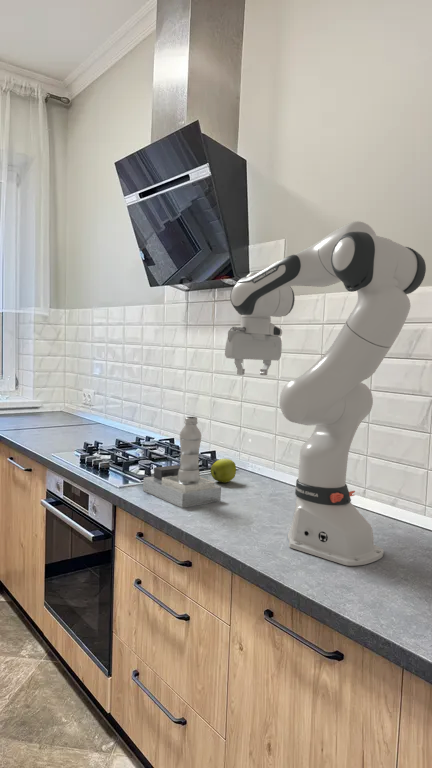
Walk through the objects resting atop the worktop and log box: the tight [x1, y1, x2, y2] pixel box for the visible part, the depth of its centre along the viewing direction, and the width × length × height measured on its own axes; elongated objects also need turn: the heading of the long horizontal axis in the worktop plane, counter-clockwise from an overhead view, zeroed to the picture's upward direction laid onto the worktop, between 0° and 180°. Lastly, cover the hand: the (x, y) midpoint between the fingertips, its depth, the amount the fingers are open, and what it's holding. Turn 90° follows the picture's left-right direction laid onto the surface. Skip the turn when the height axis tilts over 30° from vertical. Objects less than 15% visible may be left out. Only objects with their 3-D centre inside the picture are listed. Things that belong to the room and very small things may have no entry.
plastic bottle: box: [178, 416, 202, 485], centre depth 155 cm, size 6×7×20 cm
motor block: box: [142, 464, 222, 509], centre depth 160 cm, size 23×14×7 cm, turn 40°
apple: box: [210, 458, 238, 484], centre depth 178 cm, size 8×9×8 cm
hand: (252, 375), depth 159 cm, fingers open, 8 cm apart
